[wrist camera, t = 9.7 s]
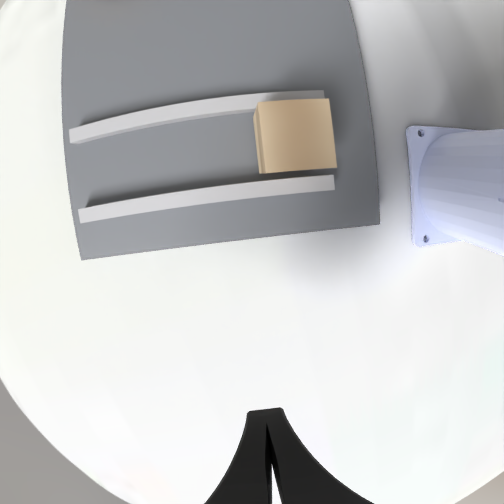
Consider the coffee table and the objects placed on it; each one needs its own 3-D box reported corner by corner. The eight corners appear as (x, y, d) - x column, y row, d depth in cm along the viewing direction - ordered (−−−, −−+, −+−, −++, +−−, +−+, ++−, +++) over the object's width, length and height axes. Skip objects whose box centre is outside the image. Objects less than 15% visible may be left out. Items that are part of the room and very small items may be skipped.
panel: (314, -78, 14) (321, -96, 11) (370, 220, 19) (387, 227, 17) (83, -46, 13) (71, -60, 11) (91, 254, 19) (74, 264, 17)
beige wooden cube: (308, 114, 16) (328, 98, 12) (314, 168, 17) (336, 167, 13) (252, 118, 16) (257, 102, 12) (259, 173, 17) (265, 173, 13)
